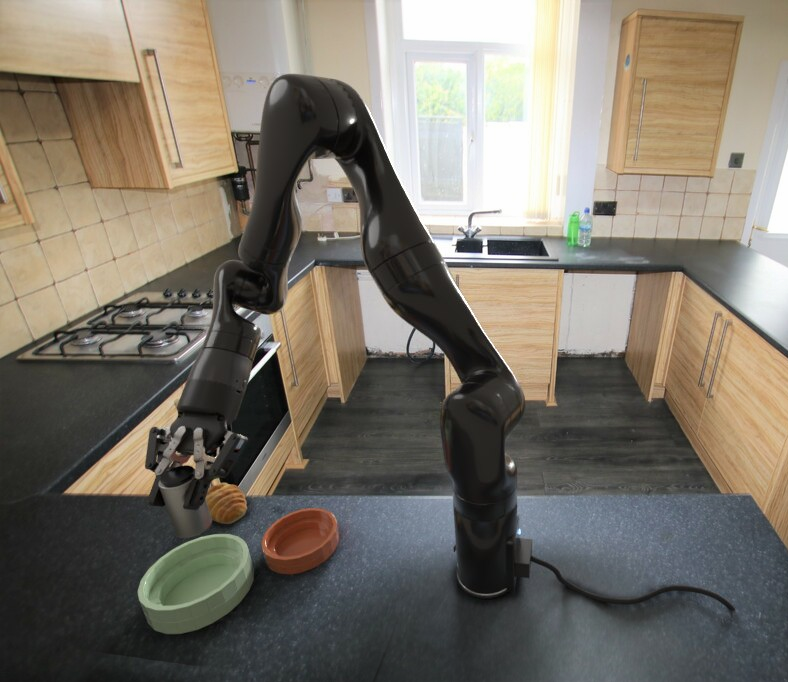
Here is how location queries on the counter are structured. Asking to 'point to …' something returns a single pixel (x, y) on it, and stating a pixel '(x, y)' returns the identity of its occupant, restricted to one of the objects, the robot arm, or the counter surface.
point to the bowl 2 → (300, 541)
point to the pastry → (226, 503)
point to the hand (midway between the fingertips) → (173, 507)
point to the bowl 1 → (196, 583)
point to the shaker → (174, 495)
